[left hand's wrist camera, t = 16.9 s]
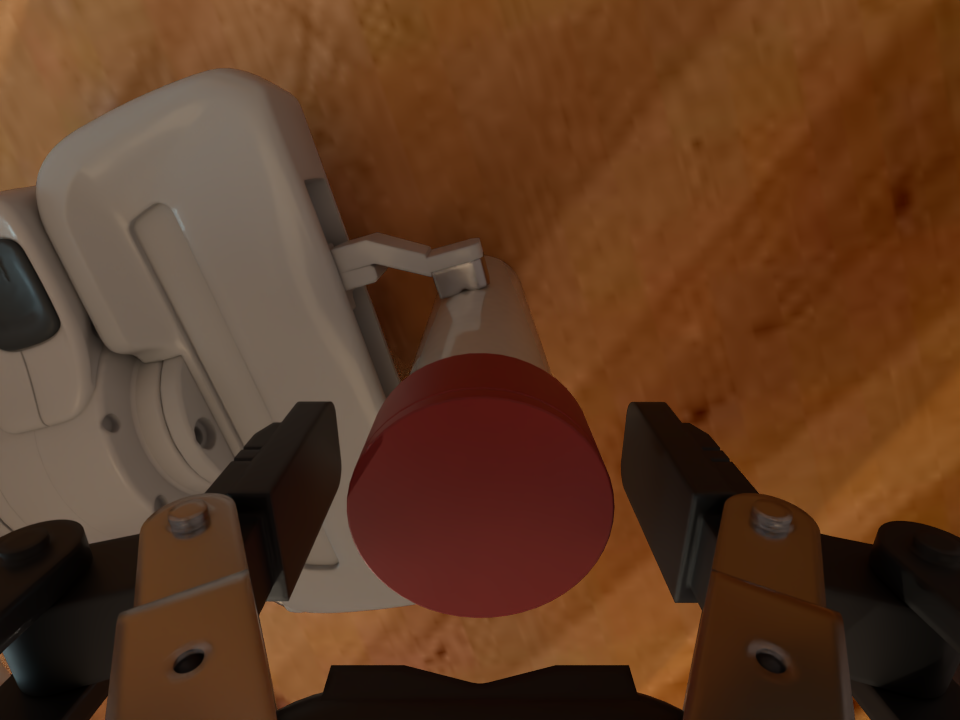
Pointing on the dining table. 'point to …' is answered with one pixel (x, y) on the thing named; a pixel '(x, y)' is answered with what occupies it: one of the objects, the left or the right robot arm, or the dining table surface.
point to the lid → (480, 489)
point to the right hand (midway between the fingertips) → (504, 331)
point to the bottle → (483, 322)
